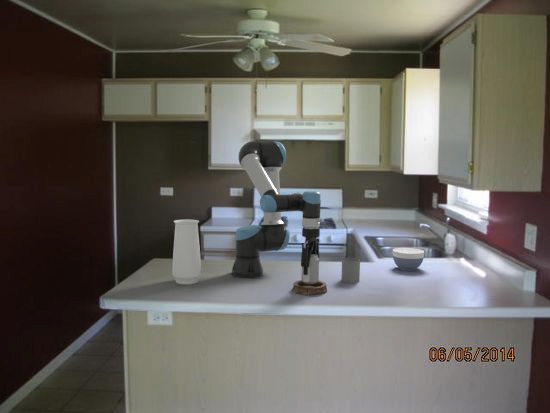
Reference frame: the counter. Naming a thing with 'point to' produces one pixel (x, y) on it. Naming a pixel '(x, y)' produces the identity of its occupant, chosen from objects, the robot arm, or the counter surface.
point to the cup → (350, 270)
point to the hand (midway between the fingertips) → (309, 279)
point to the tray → (309, 288)
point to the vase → (186, 252)
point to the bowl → (408, 258)
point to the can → (313, 269)
